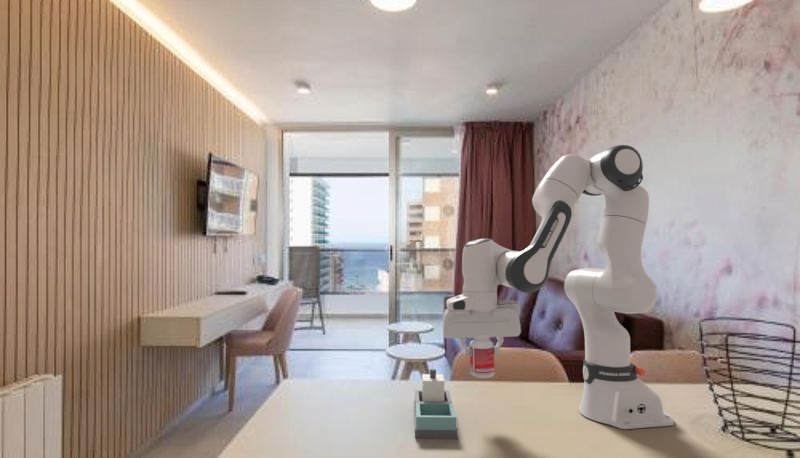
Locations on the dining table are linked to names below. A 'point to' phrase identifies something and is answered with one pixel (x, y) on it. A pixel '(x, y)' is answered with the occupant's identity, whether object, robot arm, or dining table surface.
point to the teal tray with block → (434, 409)
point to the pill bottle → (482, 357)
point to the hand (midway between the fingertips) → (481, 353)
